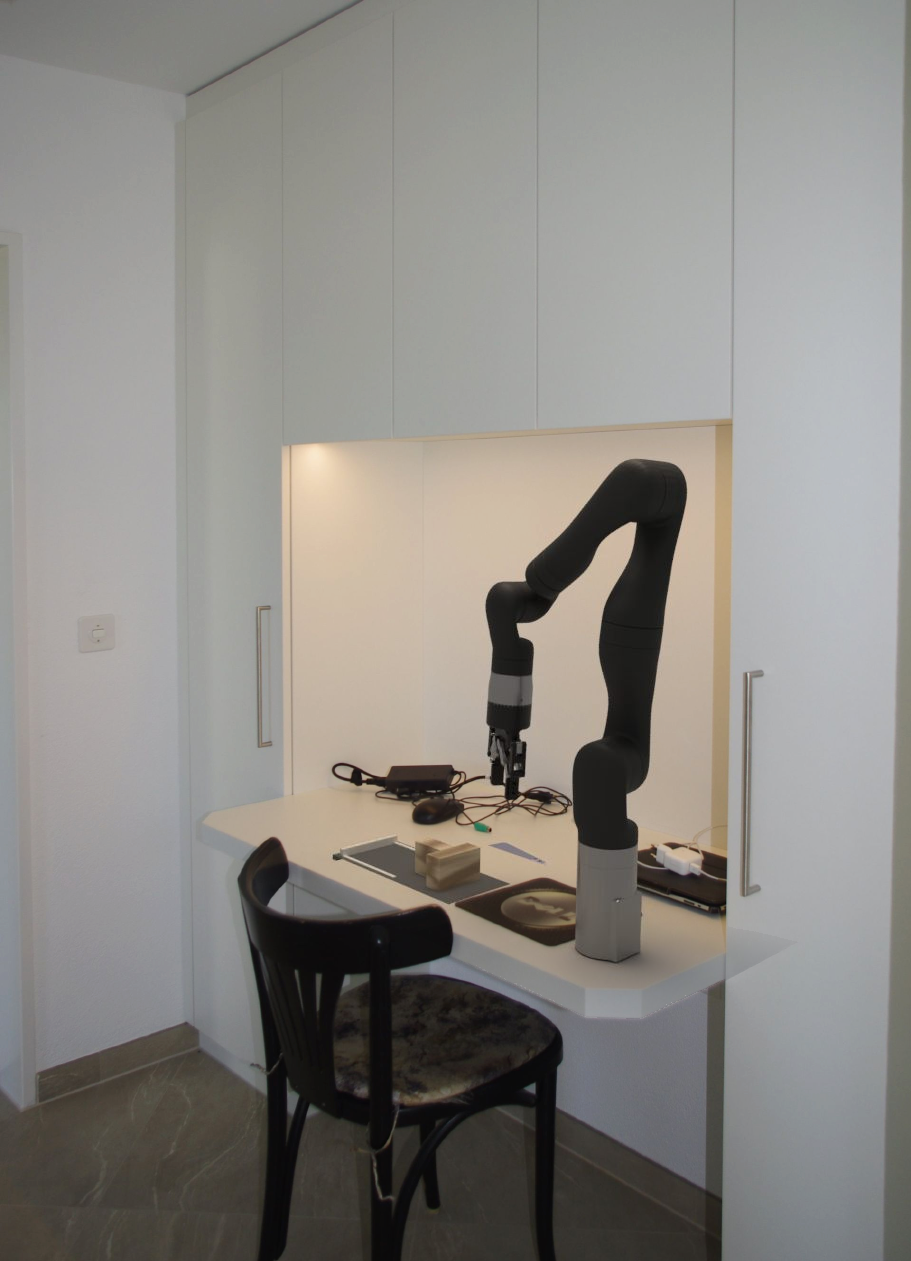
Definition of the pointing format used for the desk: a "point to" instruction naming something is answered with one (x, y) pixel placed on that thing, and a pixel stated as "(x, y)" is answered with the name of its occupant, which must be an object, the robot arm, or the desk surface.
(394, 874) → the desk mat
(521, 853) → the lavender triangular plate
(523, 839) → the desk surface
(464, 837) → the desk surface
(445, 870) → the T block
